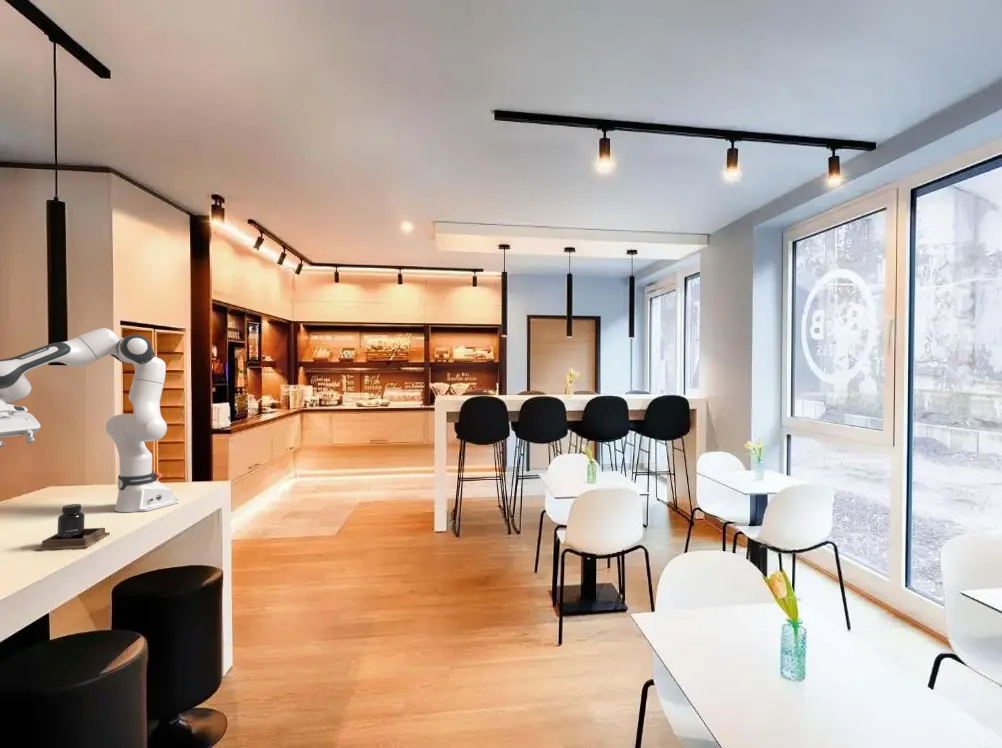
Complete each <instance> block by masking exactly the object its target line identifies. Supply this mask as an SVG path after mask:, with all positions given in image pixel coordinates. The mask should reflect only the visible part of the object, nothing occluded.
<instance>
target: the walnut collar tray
mask: <svg viewBox="0 0 1002 748" xmlns="http://www.w3.org/2000/svg"><path fill="white" fill-rule="evenodd" d="M109 534H111V532H106V528H105V527H91V528H90V527H88V528H84V538H83V539H60V540H57V533H56V534H55V533H54V535H51V536H50V537H47V538H45V539H43V540H42V541H41V545H40V546H39V547H37V548H36V549H35V550H36V551H35V552H43V551H42V550H50V551H64V550H63V549H72V550H87V549H89V548H90V547H91V545H92V546H94V545H95V544H97V543H99V542H100V541H102V540H103V539H105V538H106V536H107V535H108V536H110V535H109ZM108 536H107V537H108ZM104 537H105V538H104ZM101 539H102V540H101ZM99 540H100V541H99ZM98 541H99V542H98ZM96 542H97V543H96ZM94 543H95V544H94ZM93 544H94V545H93ZM88 547H89V548H88ZM86 548H87V549H86ZM39 550H41V551H39Z"/></svg>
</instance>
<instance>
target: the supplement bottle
mask: <svg viewBox="0 0 1002 748" xmlns="http://www.w3.org/2000/svg"><path fill="white" fill-rule="evenodd" d="M61 509H62V510H61V512H62V514H60V515H59V516H58V518H57V533H56V534H57V540H60V539H83V538H84V529H85V520H86V519H85V514H84V512H82V504H79V503H72V504H65V505H63V506H62V508H61Z"/></svg>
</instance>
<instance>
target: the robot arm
mask: <svg viewBox="0 0 1002 748" xmlns="http://www.w3.org/2000/svg"><path fill="white" fill-rule="evenodd" d="M109 355H110V356H111V357H114V359H116V360H118V361H119V362H121V363H123V364H126V365H133V366H134V374H133V377H132V382H131V385H130V389H129V393H128V400H129V402H130V403H131V404H132V408H133V411H132V412H133V413H121V414H116V415H114V416H112V417H110V418H109V419H108V421H107V422H106V424H105V425H106V426H105V431H106V433H107V434H108V435H109V436H110V437H111V439H112V440H113V442H114V443H115V446H116V449H117V453H118V458H119V475H118V478H117V489H118V493H117V498H116V499H117V500H116V503H115V506H114V508H113V511H115V512H118V513H134V512H149V511H153V510H157V509H161V508H164V507H168V506H171V505H175V504H179V503H180V500H179V498H177V497H174V496H173V490H172V488H171V487H169V486H168V485H165V484H164V483H162V482H160V481H159V480H157V479H161V478H162V477H163V474H162V473H160V472H157V473H156V472H153V454H152V452H151V450H149V449H148V448H147V446H146V443H149V442H154V441H155V442H156V441H159V440H161V439H162V438H164V437H165V435H166V433H167V431H168V424H167V422H166V421H165V420H164V418H163V417H162V416H163V415H162V413H161V400H162V399H161V398H162V393H163V390H164V385H165V381H166V374H167V373H166V371H167V364H166V362H165V361H164V360H163V359H162V358H160V357H156V356H155V351H154V348H153V346H152V343H151V342H150V340H149V339H148V338H147V337H145V336H144V335H141V334H129V335H127V336H125V337H120V336H119V335H117V334H116V333H115V332H114V331H113V330H112V329H110V328H105V327H101V328H98V329H97V328H96V329H94V330H91V331H88V332H86V333H83V334H80V335H79V336H76V337H74V338H71V339H69V340H66V341H58V342H53V343H49V344H47V345H43V346H41V347H38V348H36V349H32V350H29V351H27V352H24V353H21V354H18V355H15V356H12V357H9V358H3V359H0V438H1V439H2V438H9V437H18V436H19V437H20V436H24V437H27V438H25V440H24V441H25V442H26V443H27V444H33V443H34V442H35V437H33V436H34V435H35V434H37V432H39V431H40V430H41V424H40V422H39V421H38V420H37V418H36V417H35V416H34V415H33V414H32V413H30V412H28V411H29V409H28V408H27V407H26V406H21V405H15V404H12V403H15V402H18V401H21V400H23V399H25V398H27V397H28V396H29V395H30V394H31V393H32V389H33V386H32V384H31V382H30V381H29V379H28V378H27V377H26V376H25V374H26V373H27V372H29V371H32V370H34V369H37V368H40V367H42V366H44V365H46V364H50V363H62V364H65V365H67V366H69V367H71V368H73V367H74V368H83V367H85V366H88V365H91V364H92V363H95V362H96V361H99V360H101V359H102V358H104V357H107V356H109ZM4 446H5V442H4V440H0V448H3V447H4Z"/></svg>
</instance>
